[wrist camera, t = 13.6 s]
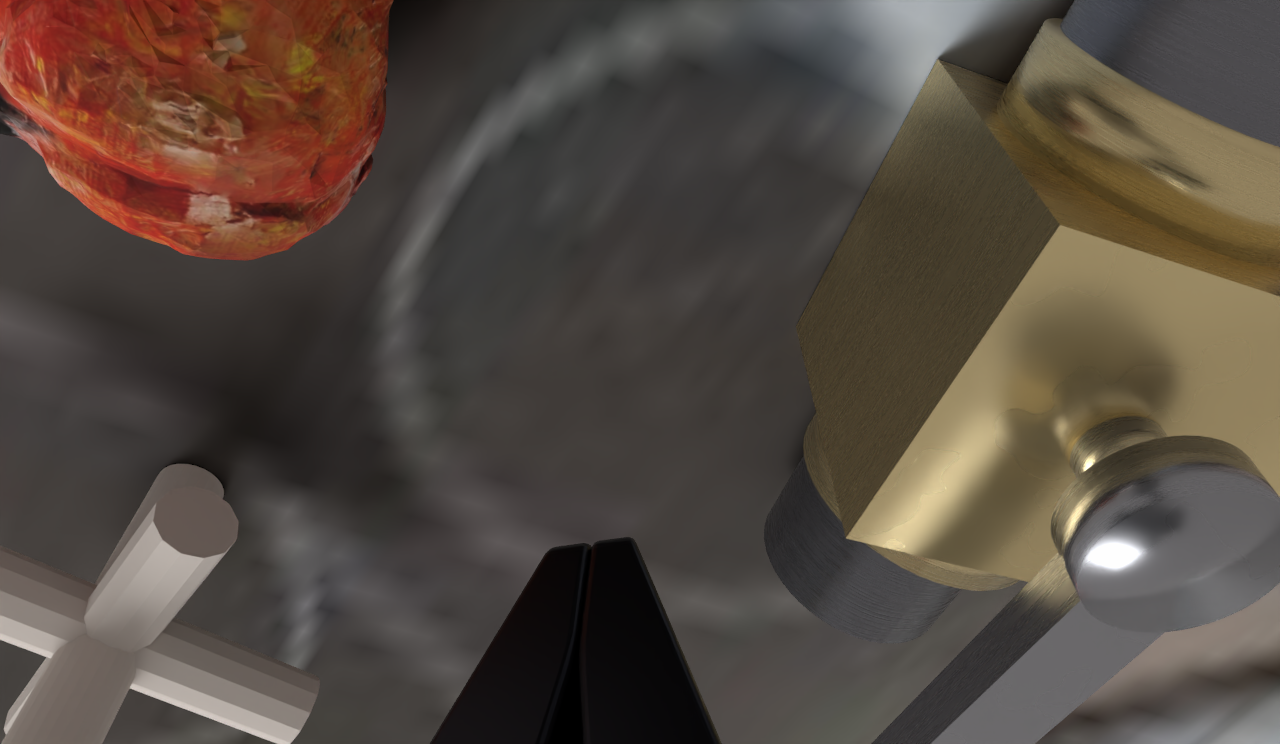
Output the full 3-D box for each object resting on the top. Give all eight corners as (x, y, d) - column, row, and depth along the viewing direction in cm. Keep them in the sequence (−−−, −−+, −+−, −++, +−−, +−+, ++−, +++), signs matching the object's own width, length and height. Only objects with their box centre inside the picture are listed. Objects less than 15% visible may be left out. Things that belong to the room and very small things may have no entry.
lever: (1108, 366, 15) (1205, 515, 12) (1267, 422, 15) (1390, 573, 13) (718, 816, 23) (727, 958, 21) (831, 838, 24) (854, 978, 22)
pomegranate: (386, -295, 17) (-320, -317, 12) (615, -171, 14) (-269, -128, 8) (400, 76, 22) (-95, 169, 17) (570, 242, 19) (0, 423, 14)
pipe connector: (74, 274, 22) (-238, 619, 14) (434, 468, 26) (346, 824, 18) (-46, 505, 27) (-332, 859, 19) (274, 640, 31) (148, 982, 23)
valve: (1081, -213, 16) (1384, -123, 10) (1400, -76, 18) (1857, 87, 11) (721, 466, 26) (750, 741, 19) (944, 521, 27) (1041, 795, 21)
